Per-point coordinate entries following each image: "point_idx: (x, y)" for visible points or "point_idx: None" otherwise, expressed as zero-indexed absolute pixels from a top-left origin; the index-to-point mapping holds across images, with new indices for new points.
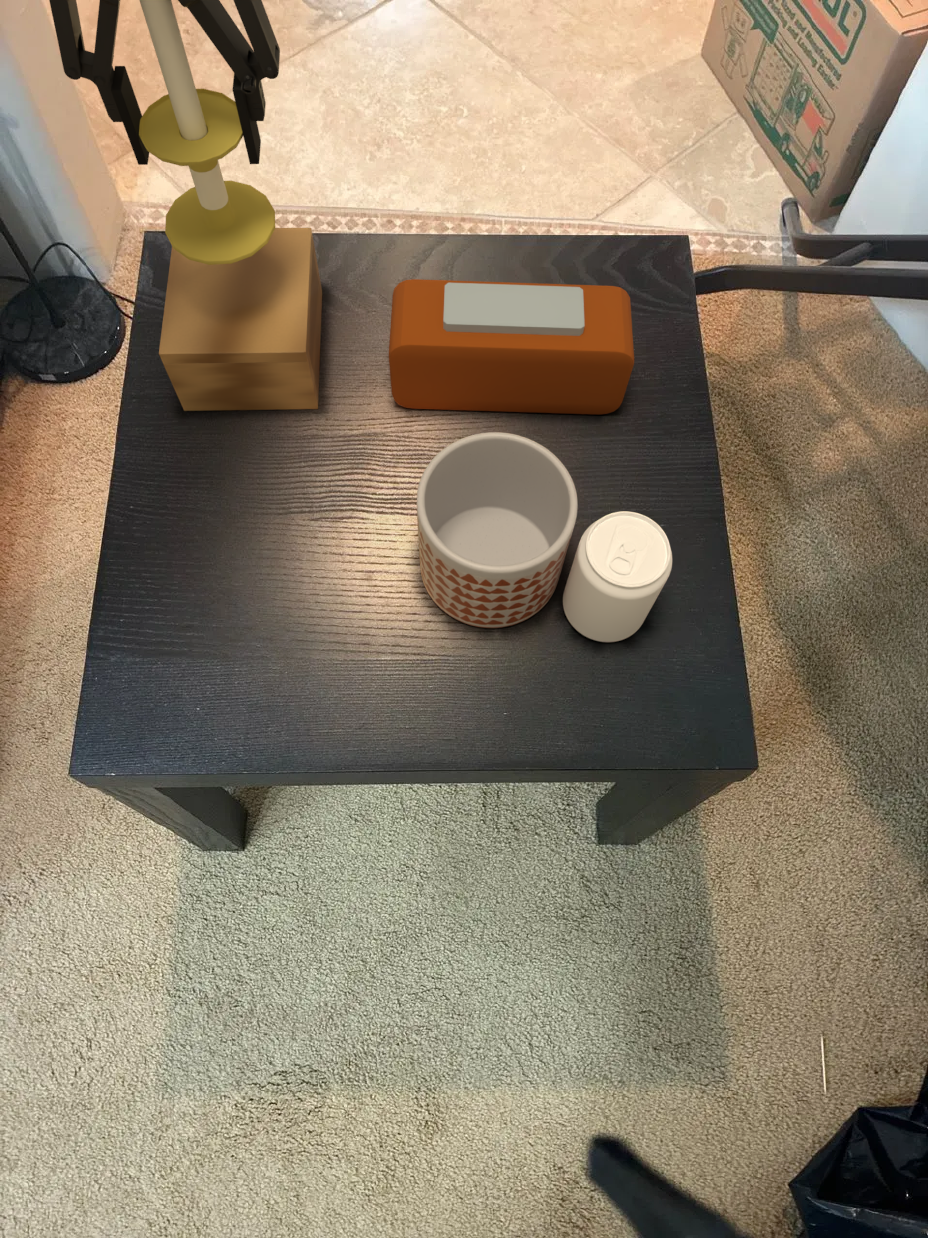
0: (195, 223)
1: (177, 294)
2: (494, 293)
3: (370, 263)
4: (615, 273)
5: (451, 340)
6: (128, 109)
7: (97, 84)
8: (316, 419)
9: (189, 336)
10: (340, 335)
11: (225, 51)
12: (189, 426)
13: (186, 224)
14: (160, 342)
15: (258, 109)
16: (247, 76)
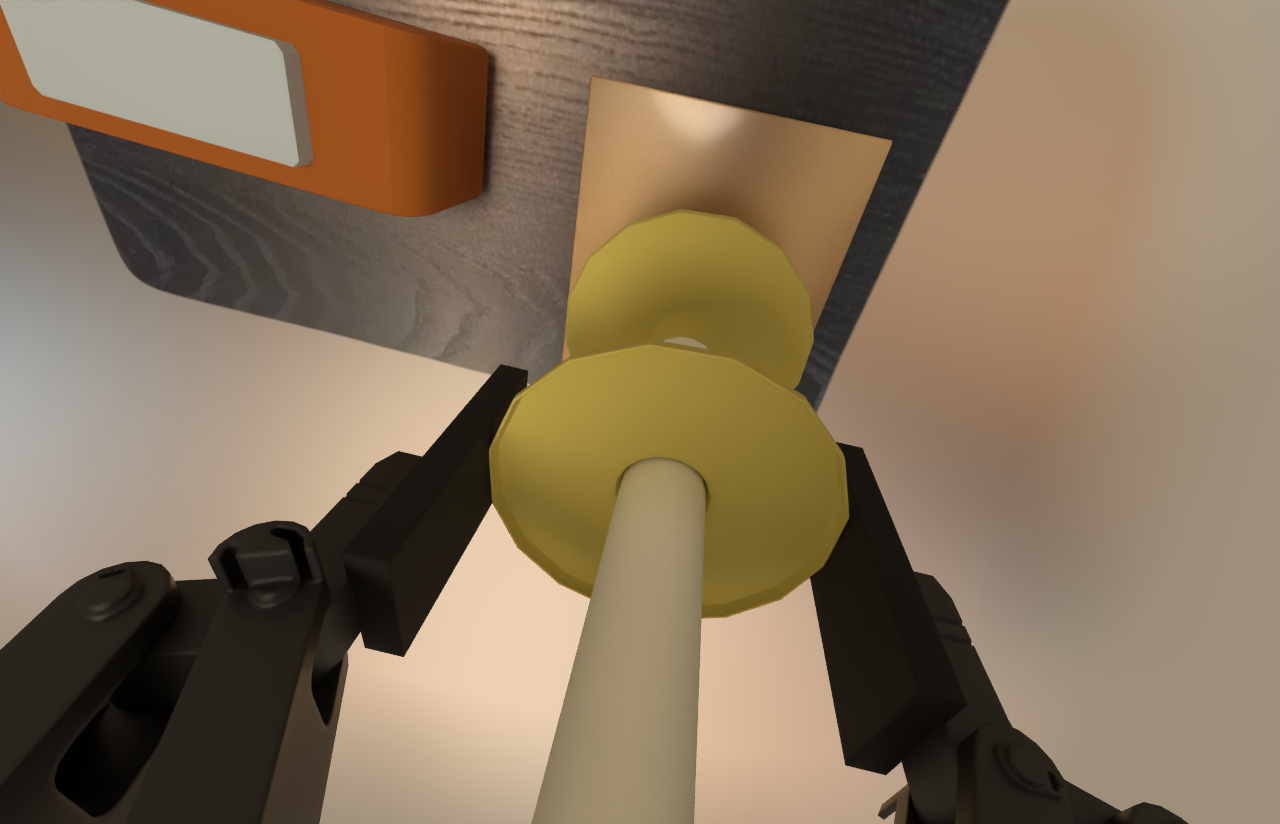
0: (740, 345)
1: (808, 288)
2: (194, 110)
3: (524, 351)
4: (200, 257)
5: (277, 10)
6: (882, 601)
7: (1033, 747)
8: (630, 57)
9: (816, 176)
10: (573, 236)
11: (228, 780)
12: (850, 91)
13: (761, 346)
14: (878, 174)
15: (380, 482)
16: (255, 601)
